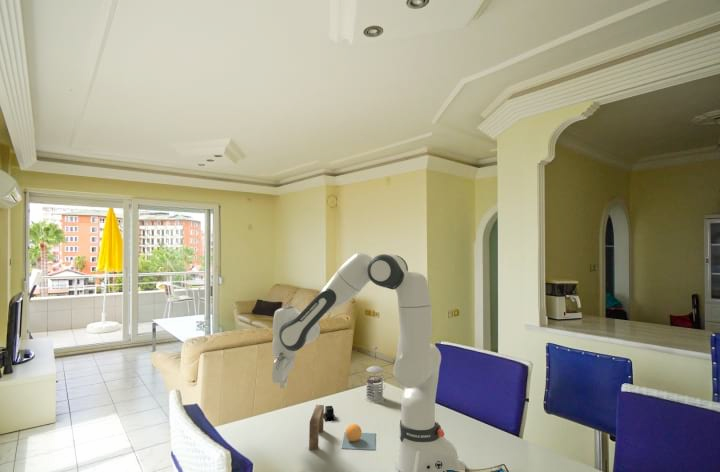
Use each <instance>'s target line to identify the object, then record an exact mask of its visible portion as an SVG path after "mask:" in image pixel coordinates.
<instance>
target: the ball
mask: <svg viewBox="0 0 720 472" xmlns="http://www.w3.org/2000/svg"><path fill="white" fill-rule="evenodd" d="M345 432H346V437H347V439H348V440H349V441H352V442H356V441H358V440H359V439H360V437H361V434H362V433H363V432H362V429H361V426H359V425H358V424H357V423H350V424H349V425H348V426H347V427H346V428H345Z"/></svg>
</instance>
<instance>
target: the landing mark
mask: <svg viewBox="0 0 720 472" xmlns="http://www.w3.org/2000/svg"><path fill="white" fill-rule="evenodd" d="M341 450H361V451H362V450H365V451H376V433H374V432H372V433H371V432H362V434H361V437H360V439H359V440H358V441H356V442H352V441H349V440H348V439H347V437H346V431H345V432H344V433H343V439H342V445H341Z"/></svg>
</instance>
